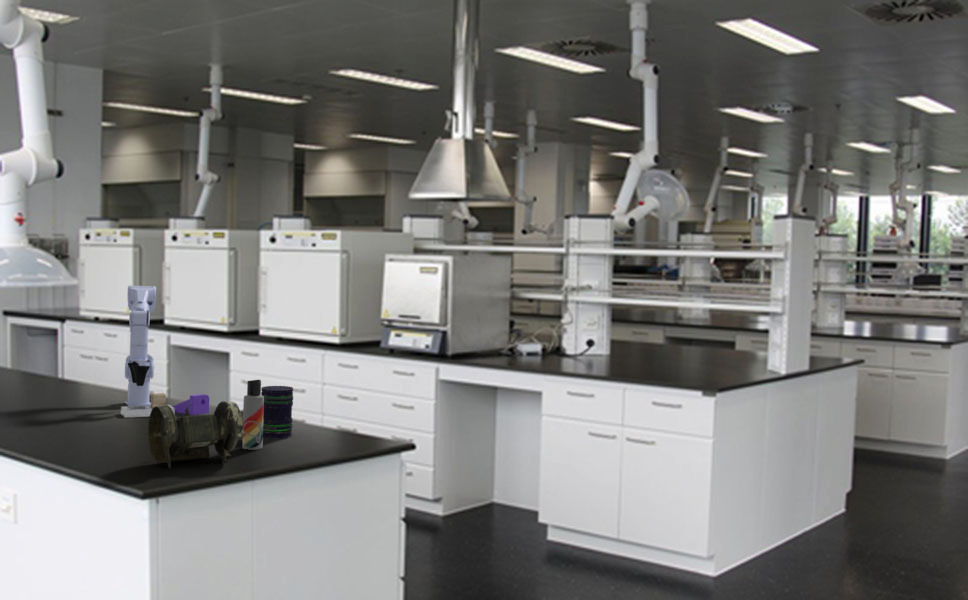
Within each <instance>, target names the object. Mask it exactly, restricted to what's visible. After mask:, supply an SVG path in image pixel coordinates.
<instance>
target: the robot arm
mask: <svg viewBox="0 0 968 600" xmlns="http://www.w3.org/2000/svg"><path fill="white" fill-rule="evenodd" d="M156 296H157V287H156V286H155V285H153V286H151V285H149V286H148V285H131V284H129V285H128V287H127V308H128V310H129V311H130V312H129V315H128V316H129V318H128V319H129V322H128V323H129V333H130V335H129V336H130V337H129V338H130V340H129V355H127V356H126V358H125V363H124V378H125V380H128V385H127V400H124V403H125V404H126V406H150V405H151V401H150V392H151V390H150V388H151V387H150V384H151V382H150V381H151V380H152V379H153V378H154V375H155V373H154V372H155V363H154V360H155V359H154V357H153V356H152V355H151V354H149V353H148V347H149V328H150V321H151V320H150V318H151V315H150V313H151V312H153V311H155V308H156V301H157V300H156V298H157V297H156Z"/></svg>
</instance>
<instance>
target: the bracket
mask: <svg viewBox="0 0 968 600" xmlns="http://www.w3.org/2000/svg"><path fill="white" fill-rule="evenodd" d="M190 401H192V402H191V403H190V405H189V407H188V410H189V416H193V415H205V414H209V413H210V395H208V394H202V393H199V394H191V395H189V399H187V400H184V401H182V402H180V403H177V404H176V405H173V406H172V407H174V408H175V413H180V414H184V415H186V411H185V410H186V407H187V405H188V404H189V402H190Z"/></svg>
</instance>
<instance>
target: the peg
mask: <svg viewBox="0 0 968 600" xmlns="http://www.w3.org/2000/svg"><path fill="white" fill-rule="evenodd" d="M150 400H151V401H150V403H151V408H152V409H153V408H154V407H156V406H164V405H167V394H165V393H164V392H157V393H155V392H154V393H151V395H150Z"/></svg>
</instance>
